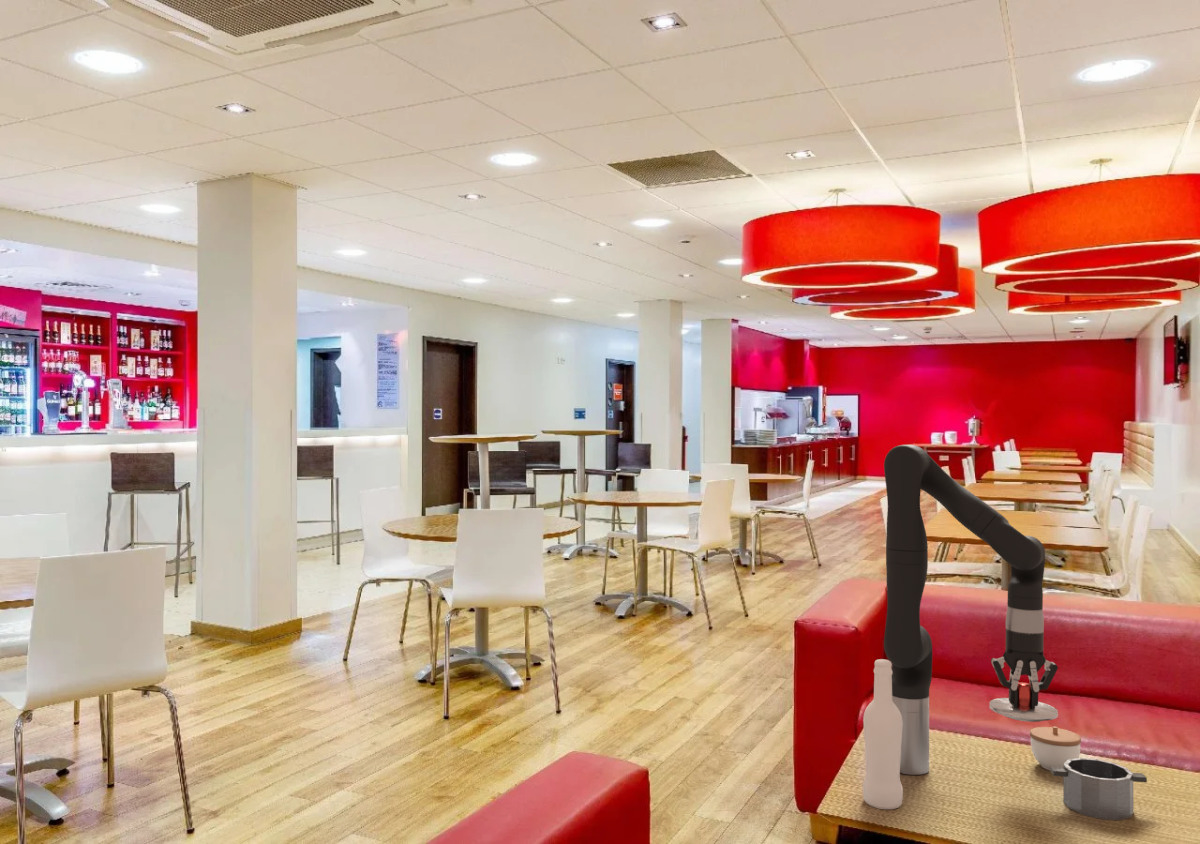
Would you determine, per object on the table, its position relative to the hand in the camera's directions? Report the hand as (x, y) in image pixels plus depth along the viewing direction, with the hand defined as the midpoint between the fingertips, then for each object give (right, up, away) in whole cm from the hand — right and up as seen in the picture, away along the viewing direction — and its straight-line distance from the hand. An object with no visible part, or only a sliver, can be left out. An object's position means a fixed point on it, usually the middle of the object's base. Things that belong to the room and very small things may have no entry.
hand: (1023, 706), depth 200 cm
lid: (0, -2, 0) cm, 2 cm away
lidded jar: (+14, -19, +14) cm, 27 cm away
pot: (+12, -18, -9) cm, 23 cm away
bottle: (-33, -18, -7) cm, 38 cm away
